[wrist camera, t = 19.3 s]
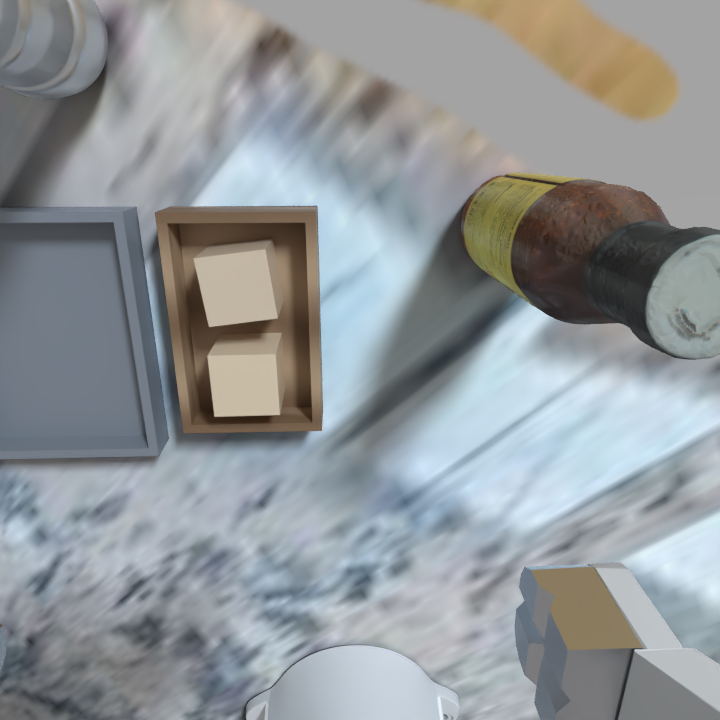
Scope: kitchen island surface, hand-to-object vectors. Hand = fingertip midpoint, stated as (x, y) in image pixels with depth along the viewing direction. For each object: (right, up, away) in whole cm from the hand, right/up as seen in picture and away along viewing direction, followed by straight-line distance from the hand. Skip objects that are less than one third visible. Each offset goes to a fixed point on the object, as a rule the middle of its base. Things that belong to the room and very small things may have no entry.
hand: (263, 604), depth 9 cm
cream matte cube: (-6, +4, +29) cm, 30 cm away
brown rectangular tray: (-6, +7, +28) cm, 30 cm away
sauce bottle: (+11, +13, +27) cm, 32 cm away
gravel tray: (-18, +6, +28) cm, 34 cm away
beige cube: (-6, +9, +27) cm, 29 cm away
